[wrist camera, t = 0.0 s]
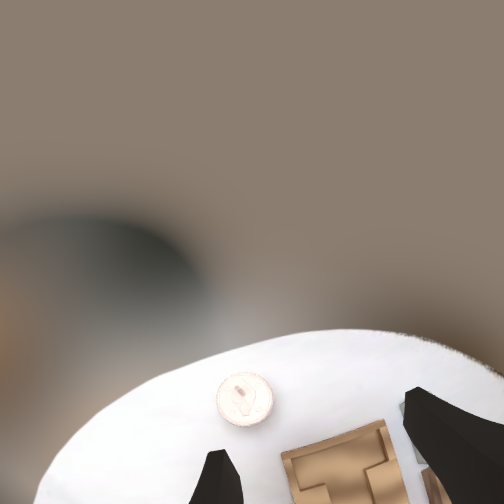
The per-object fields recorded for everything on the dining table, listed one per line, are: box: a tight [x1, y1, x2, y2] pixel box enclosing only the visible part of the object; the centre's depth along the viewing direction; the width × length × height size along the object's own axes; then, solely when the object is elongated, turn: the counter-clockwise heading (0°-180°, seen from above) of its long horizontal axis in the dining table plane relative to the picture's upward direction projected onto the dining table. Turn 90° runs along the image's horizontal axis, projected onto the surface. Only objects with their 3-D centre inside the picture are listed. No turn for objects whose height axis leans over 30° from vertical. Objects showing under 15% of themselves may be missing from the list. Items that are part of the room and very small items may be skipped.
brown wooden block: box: [421, 467, 452, 504], centre depth 26 cm, size 7×3×5 cm, turn 13°
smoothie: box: [217, 373, 273, 426], centre depth 34 cm, size 6×6×14 cm
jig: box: [281, 419, 410, 504], centre depth 29 cm, size 18×14×3 cm
